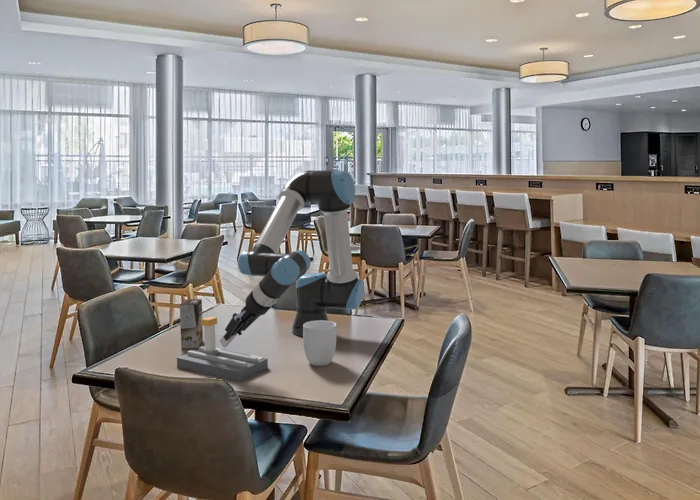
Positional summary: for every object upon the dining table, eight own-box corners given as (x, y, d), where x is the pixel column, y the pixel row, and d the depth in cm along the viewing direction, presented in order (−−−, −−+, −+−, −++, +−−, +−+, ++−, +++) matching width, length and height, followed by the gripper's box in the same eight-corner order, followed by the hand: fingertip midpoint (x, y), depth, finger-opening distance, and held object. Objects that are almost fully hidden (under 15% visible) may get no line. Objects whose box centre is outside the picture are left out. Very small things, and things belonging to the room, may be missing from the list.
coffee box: (199, 348, 202) (197, 304, 200) (180, 348, 202) (179, 304, 199) (203, 340, 211) (202, 298, 209) (185, 341, 211) (184, 299, 209)
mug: (300, 355, 195) (300, 318, 193) (332, 353, 197) (332, 316, 195) (305, 369, 180) (304, 329, 178) (339, 367, 182) (339, 328, 180)
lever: (219, 353, 185) (218, 317, 183) (210, 357, 182) (209, 320, 180) (210, 351, 187) (209, 316, 185) (201, 355, 184) (200, 318, 182)
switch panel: (267, 367, 182) (267, 355, 181) (238, 381, 170) (238, 367, 169) (208, 354, 195) (207, 342, 194) (177, 366, 183) (176, 354, 182)
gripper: (255, 312, 163) (214, 358, 174) (282, 303, 174) (243, 347, 185) (240, 292, 165) (201, 339, 176) (269, 285, 176) (230, 329, 187)
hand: (223, 343), depth 181 cm, fingers closed
